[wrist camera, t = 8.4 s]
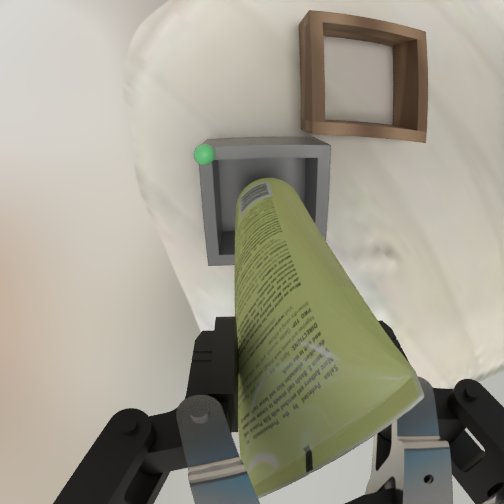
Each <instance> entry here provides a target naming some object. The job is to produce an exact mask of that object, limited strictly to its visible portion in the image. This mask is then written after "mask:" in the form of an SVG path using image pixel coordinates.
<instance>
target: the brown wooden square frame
mask: <svg viewBox="0 0 504 504" xmlns="http://www.w3.org/2000/svg"><path fill="white" fill-rule="evenodd" d="M323 36H331V37H340V38H348V39H355V40H362V41H368V42H374V43H380V44H385V45H390V46H393V74H394V104H393V125H388V124H378V123H368V122H356V121H341V120H325V75H324V43H323ZM299 43H300V75H301V129H302V130H304V131H306V132H309V133H311V134H323V135H346V136H362V137H375V138H386V139H396V140H405V141H414V142H422V143H426V132H427V110H428V65H427V44H426V32H425V31H421V30H418V29H414V28H410V27H407V26H403V25H399V24H394V23H390V22H386V21H381V20H376V19H371V18H365V17H360V16H353V15H347V14H340V13H332V12H323V11H312V10H309V11H308V13H307V14H306V15H305V17H304V18H303V19H302V21H301V22H300V24H299Z"/></svg>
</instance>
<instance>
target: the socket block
mask: <svg viewBox="0 0 504 504" xmlns="http://www.w3.org/2000/svg"><path fill="white" fill-rule="evenodd" d="M330 156H331V145H329V144H327V143H325V142H323V141H321V140H319V139H317V138H315V137H245V138H223V139H207V140H206V141H205V142H204V143H203V144H202V145H199V146H198V147H197V148H196V149H195V151H194V159H195V161H196V162H197V163H199V171H200V184H201V196H202V208H203V219H204V229H205V239H206V249H207V259H208V266H221V265H235V218H236V204H237V200H238V197H239V195H240V194H241V192H242V191H243V190H244V188H245V187H246V186H248V185H249V184H250V183H252V182H254V181H256V180H259V179H262V178H276V179H280V180H283V181H285V182H286V183H288V184H289V185H290V186H291V187H293V188H294V190H295V191H296V192H297V194H298V196H299V197H300V199H301V201H302V203H303V204H304V206H305V208H306V209H307V211H308V213H309V215H310V216H311V218H312V220H313V221H314V223H315V225H316V226H317V228H318V229H319V231H320V233H321V234H322V236H323V238H324V239H325V241H326V231H327V217H328V201H329V182H330Z"/></svg>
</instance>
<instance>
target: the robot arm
mask: <svg viewBox="0 0 504 504" xmlns="http://www.w3.org/2000/svg"><path fill="white" fill-rule="evenodd" d="M378 322H379V323H380V325H381V326H382V328H383V329H384V331H385V332H386V334H387V335H388V336H389V338H390V339H391V340H392V342H393V343H394V345H395V346H396V347H397V348H398V349H399V351H400V352H401V353H402V354H403V356H404V357H405V358H406V360H407V361H408V359H407V357H406V355H405V353H404V351H403V350H402V348H401V347H400V344H399V342H398V340H396V336H395V334H394V333H393V331H392V329H391V328H390V327H389V326H388V325H387V324H385V323H384V322H383V321H378ZM408 362H409V361H408ZM417 377H418V376H417ZM418 380H419V382H420V384H421V387H422V389H423V392H424V398H423V399H422V400H421V401H420V402H419V403H418V404H416V405H415V406H414V407H413V408H412V409H411V410H409V411H408V412H406V413H405V414H404V415H402V416H401V417H400V418H398V419H397V420H395V421H394V422H393V423H391V424H390V425H389V426H388V427H386V428H385V429H383V430H382V431H380V432H379V433H377V434H376V435H374V440H373V458H372V471H371V476H370V480H369V482H368V485H367V488H366V492H365V495H363V496H361V497H359V498H356V499H354V500H352V501H350V502H348V503H345V504H453V491H452V490H453V489H452V475H453V476H454V477H455V478H456V480H457V481H458V482H459V483H460V485H461V486H462V487H463V489H464V490H465V491H466V492H467V493H468V495H469V496H470V498H471V499H472V500H473V501H474V503H475V504H504V407H503V406H502V405H501V404H500V403H499V402H498V401H497V400H496V399H495V398H494V397H493V396H492V395H491V394H490V393H489V392H488V391H487V390H486V389H485V388H484V387H483V386H482V385H481V384H480V383H478V382H477V381H475V380H472V379H464V380H461V381H459V382H458V383H457V384H456V386H455V387H454V389H440V388H432V386H431V385H430V383H429V382H428V381H426V380H425V379H423V378H421V377H418ZM238 383H239V359H238V337H237V324H236V317H216V321H215V330H214V331H202V332H201V333H200V335H199V336H198V337H197V339H196V340H195V344H194V351H193V356H192V363H191V368H190V374H189V381H188V387H187V393H186V397H185V400H183V401H182V402H181V403H180V405H179V406H178V407H177V408H176V409H175V410H173V411H170V412H167V413H163V414H159V415H154V416H149V417H148V415H147V414H146V413H144V412H143V411H141V410H138V409H133V408H132V409H131V408H129V409H124V410H121V411H119V412H117V413H116V414H115V415H114V416H113V417H112V418H111V419H110V421H109V422H108V424H107V425H106V426H105V428H104V429H103V431H102V432H101V434H100V435H99V437H98V438H97V439H96V441H95V442H94V444H93V445H92V447H91V448H90V450H89V451H88V453H87V454H86V456H85V457H84V459H83V460H82V462H81V463H80V464H79V466H78V467H77V469H76V470H75V472H74V473H73V475H72V476H71V478H70V479H69V481H68V482H67V484H66V485H65V487H64V488H63V490H62V491H61V493H60V494H59V496H58V497H57V499H56V500H55V502H54V503H53V504H153V503H154V502H155V500H156V498H157V496H158V494H159V492H160V490H161V488H162V486H163V484H164V483H165V481H166V479H167V477H168V475H169V473H170V471H173V470H178V469H183V468H188V470H189V474H188V478H189V483H190V487H191V491H192V494H193V498H194V502H195V504H260V503H259V500H258V498H257V495H256V493H255V490H254V488H253V485H252V483H251V480H250V478H249V475H248V473H247V470H246V468H245V466H244V464H243V462H242V461H241V459H240V457H239V454H238V452H237V449H236V446H235V443H234V441H233V438H232V435H231V432H238ZM465 428H468V430H469V431H470V432H471V433H472V434H473V436H474V437H475V438H476V439H477V440H478V441H479V442H480V444H481V445H482V446H483V447H484V449H485V452H484V451H482V450H481V449H480V447H479V446H478V445H477V444H476V443H475V442H474V440H473V439H472V438H471V437H470V436H469V435H468V433H467V432H466V431H465Z"/></svg>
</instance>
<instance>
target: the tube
mask: <svg viewBox="0 0 504 504" xmlns="http://www.w3.org/2000/svg"><path fill="white" fill-rule="evenodd" d="M235 317H236V324H237V337H238V359H239V383H238V428H239V441H240V455H241V461H242V462H243V464H244V466H245V468H246V470H247V473H248V475H249V478H250V480H251V483H252V485H253V488H254V490H255V493H256V495H257V498H258V499H259V498H261V497H263V496H265V495H267V494H270V493H272V492H274V491H276V490H279V489H281V488H283V487H285V486H287V485H289V484H291V483H293V482H295V481H297V480H299V479H301V478H303V477H305V476H307V475H308V474H310V473H312V472H314V471H316V470H318V469H320V468H321V467H323V466H325V465H326V464H329V463H330V462H332V461H334V460H336V459H338V458H339V457H341V456H343V455H344V454H346V453H348V452H349V451H351V450H352V449H354V448H356V447H357V446H359V445H360V444H362V443H363V442H365V441H367V440H368V439H370V438H371V437H373V436H374V435H376V434H377V433H379V432H380V431H382V430H383V429H385V428H386V427H388V426H389V425H390V424H391V423H393V422H394V421H395V420H397V419H398V418H400V417H401V416H402V415H404V414H405V413H406V412H408V411H409V410H411V409H412V408H413V407H414V406H415V405H416V404H418V403H419V402H420V401H421V400H422V399H423V398H424V392H423V389H422V387H421V384H420V382H419V380H418V377H417V374H416V372H415V370H414V369H413V367H412V366H411V365H410V363H409V362H408V361H407V360H406V358H405V357H404V356H403V354H402V353H401V352H400V351H399V349H398V348H397V347H396V346H395V345H394V343H393V342H392V340H391V339H390V338H389V336H388V335H387V334H386V332H385V331H384V329H383V328H382V326H381V325H380V323H379V322H378V320H377V319H376V317H375V316H374V314H373V313H372V311H371V310H370V308H369V307H368V305H367V304H366V302H365V301H364V299H363V298H362V296H361V295H360V293H359V292H358V290H357V289H356V287H355V286H354V285H353V283H352V282H351V280H350V278H349V277H348V275H347V274H346V272H345V271H344V269H343V267H342V266H341V264H340V263H339V261H338V260H337V258H336V257H335V255H334V254H333V252H332V250H331V249H330V247H329V246H328V244H327V242H326V241H325V239H324V238H323V236H322V234H321V233H320V231H319V229H318V228H317V226H316V225H315V223H314V221H313V220H312V218H311V216H310V215H309V213H308V211H307V209H306V208H305V206H304V204H303V203H302V201H301V199H300V197H299V196H298V194H297V192H296V191H295V190H294V188H293V187H291V186H290V185H289V184H288V183H286V182H285V181H283V180H280V179H276V178H262V179H259V180H256V181H254V182H252V183H250V184H249V185H248V186H246V187H245V188H244V190H243V191H242V192H241V194H240V195H239V197H238V200H237V204H236V218H235Z"/></svg>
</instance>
